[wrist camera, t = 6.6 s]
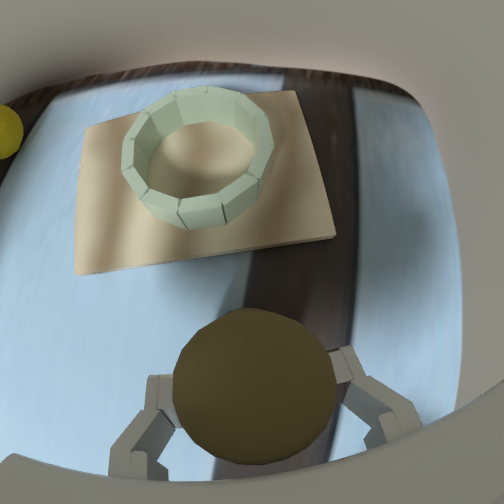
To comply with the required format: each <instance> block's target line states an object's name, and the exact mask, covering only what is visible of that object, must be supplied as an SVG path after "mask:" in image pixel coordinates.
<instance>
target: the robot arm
mask: <svg viewBox="0 0 504 504" xmlns="http://www.w3.org/2000/svg"><path fill="white" fill-rule="evenodd" d="M327 353H328V354H329V356H330V357H331V361H332V364H333V369H334V373H335V377H336V381H337V392H336V402H335V404H340V403H343V404H344V405H345V406H346V407H347V408H348V409H349V410H351V411H352V412H353V413H354V414H355V415H357V416H358V417H359V418H360V419H362V420H363V421H364V422H365V423H366V424H368V425H369V426H370V427H371V429H370V431H369V432H368V434H367V435H366V436H365V438H364V442H365V445H366V448H367V450H366V451H363V452H360V453H357V454H354V455H351V456H348V457H345V458H341V459H338V460H334V461H331V462H327V463H323V464H319V465H315V466H311V467H307V468H302V469H298V470H293V471H288V472H282V473H277V474H271V475H264V476H257V477H249V478H240V479H230V480H216V481H169V480H168V469H167V468H166V467H164V466H163V465H161V464H160V463H159V462H157V460H158V458H159V456H160V455H161V453H162V451H163V450H164V448H165V446H166V445H167V443H168V441H169V440H170V438H171V436H172V435H173V433H174V431H175V430H176V429H175V428H183V427H182V426H181V424H180V423H179V420H178V417H177V414H176V411H175V408H174V405H173V402H172V388H173V374H167V375H149V376H148V379H147V386H146V395H145V405H144V410H140V412H139V413H138V414H137V415H136V417H135V418H134V419H133V421H132V422H131V423H130V424H129V426H128V427H127V428H126V429H125V431H124V432H123V433H122V434H121V436H120V437H119V438H118V439H117V440H116V442H115V443H114V444H113V445H112V447H111V449H110V459H109V470H108V476H104V475H98V474H92V473H87V472H82V471H77V470H72V469H68V468H64V467H60V466H56V465H52V464H48V463H45V462H41V461H38V460H35V459H32V458H29V457H26V456H23V455H20V454H16V453H13V454H10V455H9V456H8V457H6V458H5V459H4V460H3V461H2V462H1V463H0V504H504V379H503V380H502V381H500V382H499V383H498V384H496V385H495V386H493V387H492V388H490V389H489V390H488V391H486V392H484V393H483V394H481V395H480V396H479V397H477V398H475V399H474V400H472V401H470V402H469V403H467V404H465V405H464V406H462V407H460V408H459V409H457V410H455V411H453V412H451V413H450V414H448V415H446V416H444V417H442V418H440V419H438V420H437V421H435V422H433V423H431V424H429V425H427V426H423V424H422V422H421V420H420V418H419V416H418V414H417V412H416V410H415V408H414V405H413V403H412V402H411V401H409V400H408V399H406V398H405V397H403V396H401V395H400V394H398V393H397V392H395V391H393V390H392V389H390V388H389V387H387V386H385V385H384V384H382V383H381V382H379V381H378V380H376V379H374V378H373V377H371V376H370V375H369V376H366V374H365V372H364V370H363V368H362V366H361V364H360V361H359V359H358V357H357V355H356V353H355V351H354V349H353V347H352V346H350V345H349V346H345V347H342V348H336V349H332V350H328V351H327Z"/></svg>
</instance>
